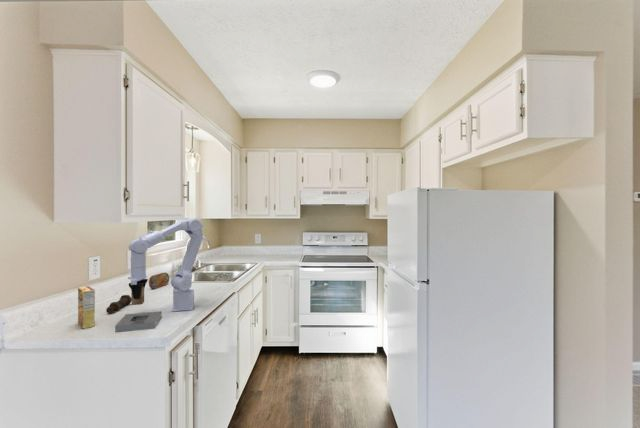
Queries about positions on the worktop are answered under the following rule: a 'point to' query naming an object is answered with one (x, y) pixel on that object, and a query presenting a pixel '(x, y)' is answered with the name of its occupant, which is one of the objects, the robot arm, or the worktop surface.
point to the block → (138, 301)
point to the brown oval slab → (158, 280)
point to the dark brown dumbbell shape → (119, 304)
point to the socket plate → (138, 321)
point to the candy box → (86, 307)
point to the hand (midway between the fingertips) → (138, 297)
